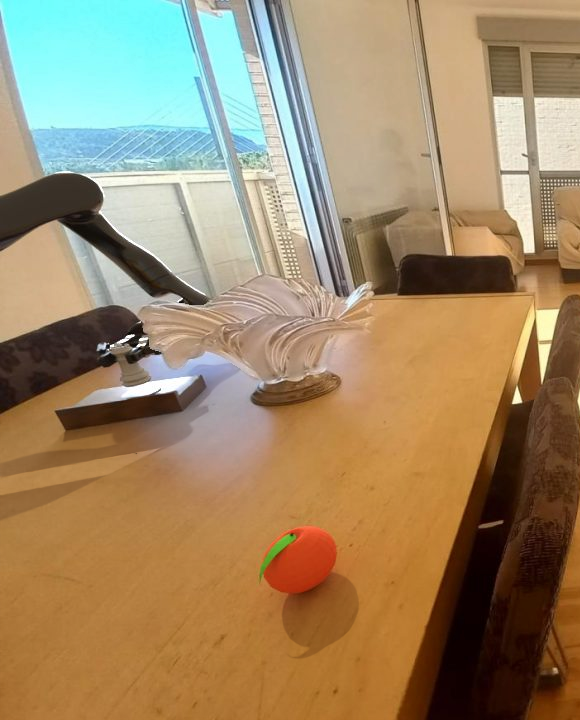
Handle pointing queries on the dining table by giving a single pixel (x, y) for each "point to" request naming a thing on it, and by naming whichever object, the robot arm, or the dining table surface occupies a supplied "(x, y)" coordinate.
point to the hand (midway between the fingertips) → (116, 360)
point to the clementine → (299, 560)
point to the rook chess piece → (129, 368)
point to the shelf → (132, 402)
